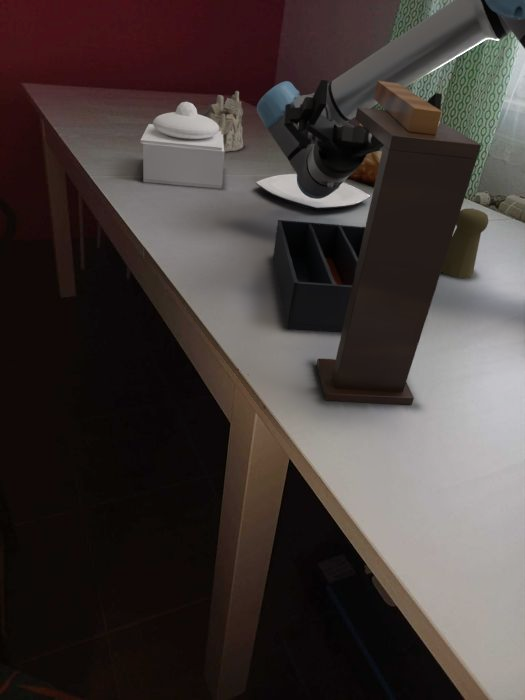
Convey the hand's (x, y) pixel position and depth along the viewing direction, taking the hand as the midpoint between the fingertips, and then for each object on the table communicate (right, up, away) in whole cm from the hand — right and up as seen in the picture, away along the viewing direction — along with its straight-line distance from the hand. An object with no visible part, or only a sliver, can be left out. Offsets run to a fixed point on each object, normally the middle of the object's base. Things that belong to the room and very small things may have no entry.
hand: (381, 98), depth 62 cm
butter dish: (-32, +12, +66) cm, 75 cm away
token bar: (+1, -4, -6) cm, 7 cm away
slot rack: (-4, -20, +21) cm, 29 cm away
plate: (-2, +6, +62) cm, 62 cm away
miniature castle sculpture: (-28, +31, +95) cm, 104 cm away
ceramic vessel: (+18, +15, +80) cm, 83 cm away
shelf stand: (-2, -31, +5) cm, 31 cm away
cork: (+21, -15, +34) cm, 43 cm away
